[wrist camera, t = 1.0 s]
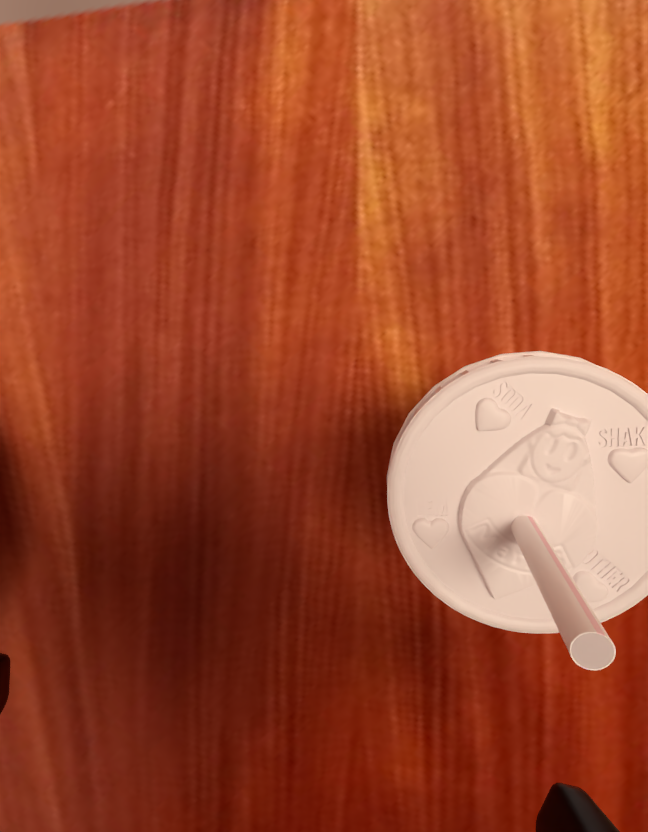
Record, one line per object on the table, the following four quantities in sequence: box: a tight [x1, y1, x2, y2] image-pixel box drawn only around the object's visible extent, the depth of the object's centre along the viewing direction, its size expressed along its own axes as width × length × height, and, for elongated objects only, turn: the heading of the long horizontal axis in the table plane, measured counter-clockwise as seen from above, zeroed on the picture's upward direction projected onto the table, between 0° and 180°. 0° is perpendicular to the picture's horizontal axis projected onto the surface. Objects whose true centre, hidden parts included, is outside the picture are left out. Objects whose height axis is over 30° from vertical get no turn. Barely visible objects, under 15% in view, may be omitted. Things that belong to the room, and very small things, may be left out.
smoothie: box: [387, 351, 648, 670], centre depth 13 cm, size 6×6×14 cm
